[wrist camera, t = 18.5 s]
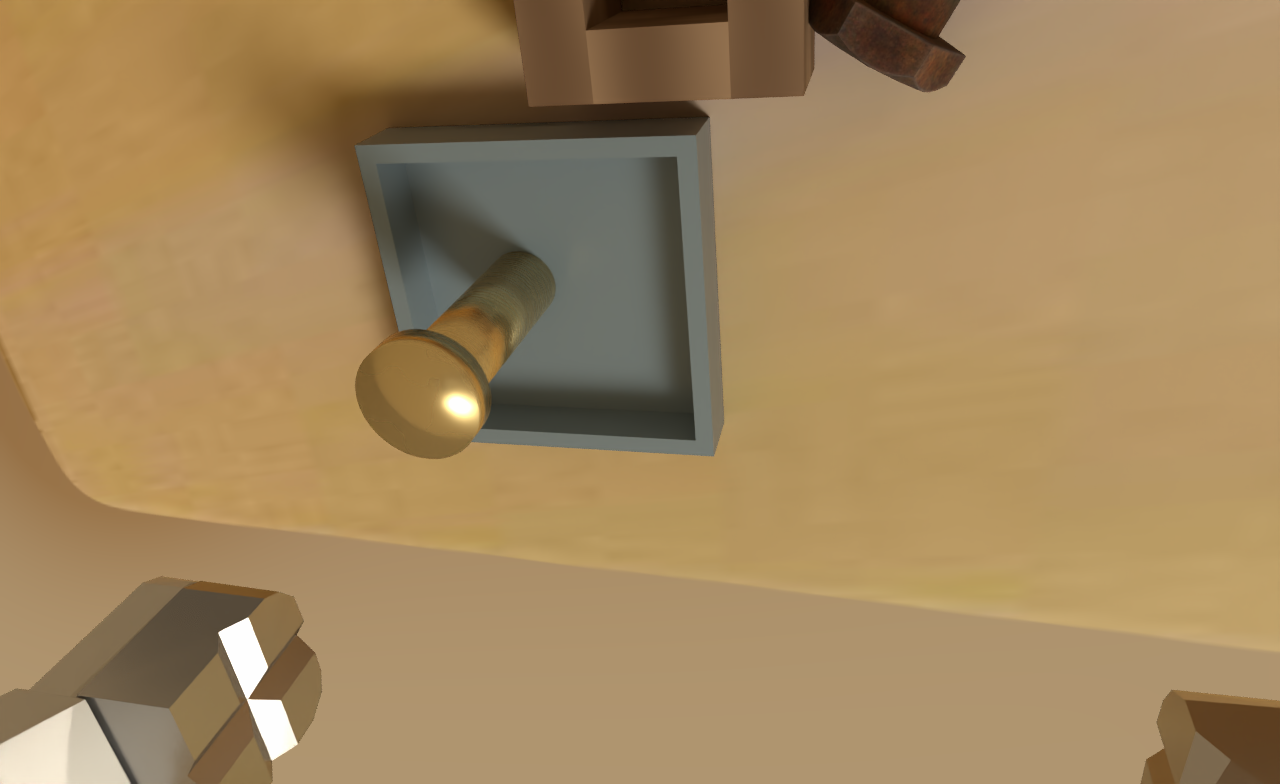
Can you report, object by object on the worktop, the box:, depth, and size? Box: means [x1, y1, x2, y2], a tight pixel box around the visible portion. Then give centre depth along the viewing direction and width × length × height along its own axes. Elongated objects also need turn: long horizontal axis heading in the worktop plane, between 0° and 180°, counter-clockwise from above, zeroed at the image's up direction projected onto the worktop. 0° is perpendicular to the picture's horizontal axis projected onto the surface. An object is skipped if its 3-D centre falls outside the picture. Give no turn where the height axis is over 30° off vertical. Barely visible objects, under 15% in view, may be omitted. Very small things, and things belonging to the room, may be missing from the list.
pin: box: [355, 251, 556, 459], centre depth 37 cm, size 5×5×11 cm
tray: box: [355, 117, 724, 456], centre depth 41 cm, size 15×15×3 cm
